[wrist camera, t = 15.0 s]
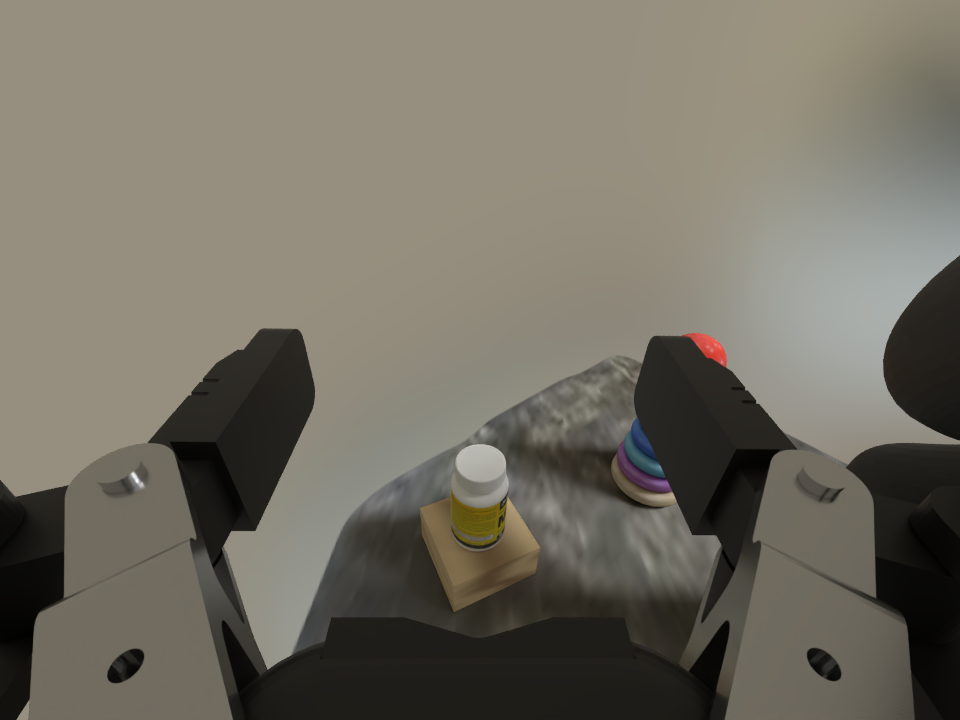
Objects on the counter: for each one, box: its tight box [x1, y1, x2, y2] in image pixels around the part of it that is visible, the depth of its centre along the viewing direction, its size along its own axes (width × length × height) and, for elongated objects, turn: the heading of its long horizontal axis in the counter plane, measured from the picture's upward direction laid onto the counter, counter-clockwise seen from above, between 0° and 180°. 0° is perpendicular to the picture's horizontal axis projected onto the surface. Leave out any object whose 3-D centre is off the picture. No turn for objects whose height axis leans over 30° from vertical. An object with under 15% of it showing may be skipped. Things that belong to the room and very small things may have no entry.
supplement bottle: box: [451, 444, 509, 552], centre depth 36 cm, size 5×5×8 cm
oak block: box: [420, 497, 540, 612], centre depth 39 cm, size 8×8×4 cm
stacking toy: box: [611, 333, 727, 507], centre depth 43 cm, size 8×8×19 cm
